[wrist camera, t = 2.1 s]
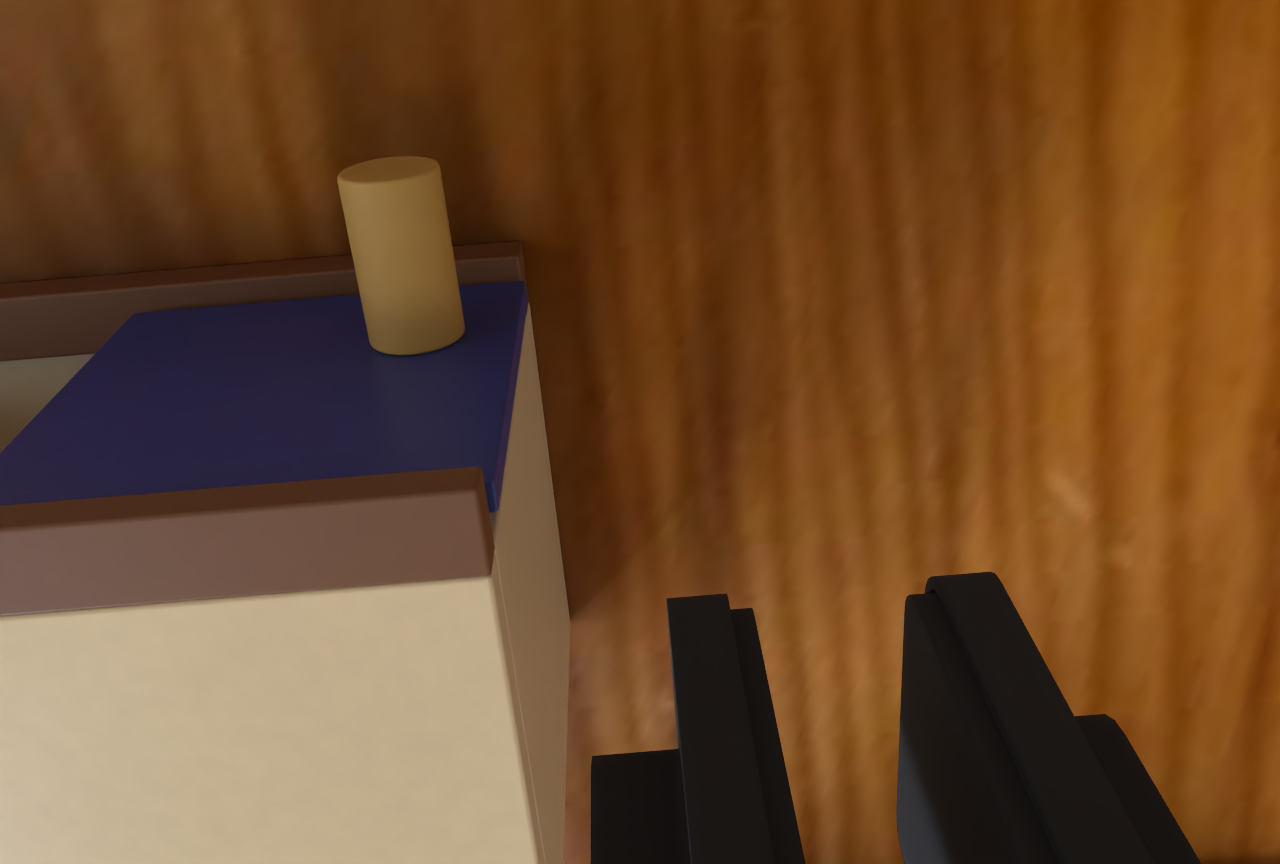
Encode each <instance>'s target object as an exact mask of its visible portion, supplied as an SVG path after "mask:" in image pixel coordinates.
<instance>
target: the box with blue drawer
mask: <svg viewBox="0 0 1280 864" xmlns="http://www.w3.org/2000/svg"><path fill="white" fill-rule="evenodd" d="M452 247H453V254H454V260H455V266H456V273H457V279H458V285H459V286H466V285H478V284H491V283H503V282H515V281H524V282H525V286H526V293H527V301H528V304H527V311H526V318H525V325H524V332H523V340H522V347H521V354H520V361H519V368H518V375H517V383H516V390H515V397H514V404H513V411H512V418H511V426H510V433H509V440H508V447H507V454H506V462H505V469H504V476H503V483H502V490H501V497H500V505H499V510H498V511H497V512H490V513H489V509H488V502H487V496H486V490H485V483H484V477H483V471H482V469H481V467H478V466H475V467H463V468H451V469H439V470H427V471H415V472H403V473H391V474H379V475H367V476H355V477H342V478H330V479H318V480H306V481H294V482H282V483H270V484H258V485H246V486H234V487H222V488H209V489H197V490H185V491H173V492H161V493H149V494H137V495H125V496H113V497H101V498H89V499H77V500H64V501H52V502H40V503H28V504H16V505H4V506H0V864H563V855H564V820H565V786H566V752H567V717H568V683H569V649H570V617H569V609H568V601H567V594H566V586H565V578H564V570H563V562H562V554H561V546H560V539H559V531H558V523H557V515H556V507H555V499H554V491H553V484H552V476H551V468H550V460H549V452H548V444H547V436H546V429H545V421H544V413H543V405H542V397H541V389H540V381H539V374H538V366H537V358H536V350H535V342H534V334H533V326H532V319H531V311H530V304H529V296H528V288H527V280H526V272H525V264H524V257H523V249H522V243H521V242H520V241H510V242H498V243H486V244H474V245H462V246H452ZM358 294H360V292H359V287H358V282H357V277H356V272H355V267H354V262H353V257H352V255H342V256H330V257H318V258H306V259H294V260H282V261H270V262H258V263H246V264H234V265H222V266H210V267H198V268H186V269H174V270H162V271H150V272H138V273H126V274H114V275H102V276H90V277H78V278H66V279H54V280H42V281H30V282H18V283H6V284H0V453H1V452H2V451H3V450H4V449H5V448H6V446H7V445H8V444H9V443H10V442H11V441H12V440H13V439H14V438H15V437H16V436H17V435H18V434H19V433H20V432H21V431H22V430H23V429H24V428H25V427H26V426H27V424H28V423H29V422H30V421H31V420H32V419H33V418H34V417H35V416H36V415H37V414H38V413H39V412H40V411H41V410H42V409H43V408H44V407H45V406H46V405H47V404H48V402H49V401H50V400H51V399H52V398H53V397H54V396H55V395H56V394H57V393H58V392H59V391H60V390H61V389H62V388H63V387H64V386H65V385H66V384H67V383H68V382H69V380H70V379H71V378H72V377H73V376H74V375H75V374H76V373H77V372H78V371H79V370H80V369H81V368H82V367H83V366H84V365H85V364H86V363H87V362H88V361H89V360H90V358H91V357H92V356H93V355H94V354H95V353H96V352H97V351H98V350H99V349H100V348H101V347H102V346H103V345H104V344H105V343H106V342H107V341H108V340H109V339H110V338H111V337H112V335H113V334H114V333H115V332H116V331H117V330H118V329H119V328H120V327H121V326H122V325H123V324H124V323H125V322H126V321H127V320H128V319H129V318H130V317H131V316H132V315H133V314H134V313H142V312H154V311H166V310H178V309H190V308H202V307H214V306H226V305H238V304H250V303H262V302H274V301H286V300H298V299H310V298H322V297H334V296H346V295H358Z"/></svg>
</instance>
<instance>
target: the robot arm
mask: <svg viewBox="0 0 1280 864" xmlns="http://www.w3.org/2000/svg"><path fill="white" fill-rule="evenodd" d="M667 611H668V624H669V637H670V650H671V663H672V676H673V688H674V701H675V714H676V727H677V740H678V749H673V750H661V751H649V752H636V753H624V754H612V755H600V756H592V763H591V864H805V860H804V855H803V850H802V845H801V840H800V835H799V830H798V825H797V821H796V816H795V811H794V806H793V801H792V796H791V791H790V787H789V782H788V777H787V772H786V767H785V762H784V757H783V752H782V748H781V743H780V738H779V733H778V728H777V723H776V718H775V714H774V709H773V704H772V699H771V694H770V689H769V684H768V680H767V675H766V670H765V665H764V660H763V655H762V650H761V645H760V641H759V636H758V631H757V626H756V621H755V616H754V612H753V609H752V608H745V609H733V610H730V606H729V601H728V596H727V594H715V595H703V596H691V597H679V598H667ZM897 830H898V837H899V843H900V848H901V852H902V856H903V860H904V863H905V864H1201V863H1200V861H1199V859H1198V858H1197V856H1196V854H1195V852H1194V851H1193V849H1192V847H1191V846H1190V844H1189V842H1188V841H1187V839H1186V837H1185V835H1184V834H1183V832H1182V830H1181V829H1180V827H1179V825H1178V824H1177V822H1176V820H1175V818H1174V817H1173V815H1172V813H1171V812H1170V810H1169V808H1168V807H1167V805H1166V803H1165V802H1164V800H1163V798H1162V796H1161V795H1160V793H1159V791H1158V790H1157V788H1156V786H1155V785H1154V783H1153V781H1152V779H1151V778H1150V776H1149V774H1148V773H1147V771H1146V769H1145V768H1144V766H1143V764H1142V762H1141V761H1140V759H1139V757H1138V756H1137V754H1136V752H1135V751H1134V749H1133V747H1132V745H1131V744H1130V742H1129V740H1128V739H1127V737H1126V735H1125V734H1124V732H1123V731H1122V730H1121V728H1120V727H1119V726H1118V724H1117V723H1116V722H1115V720H1113V719H1112V718H1110V717H1109V716H1107V715H1106V714H1099V715H1087V716H1075V717H1074V715H1073V713H1072V711H1071V710H1070V708H1069V706H1068V704H1067V702H1066V700H1065V699H1064V697H1063V695H1062V693H1061V691H1060V689H1059V687H1058V686H1057V684H1056V682H1055V680H1054V678H1053V676H1052V675H1051V673H1050V671H1049V669H1048V667H1047V665H1046V664H1045V662H1044V660H1043V658H1042V656H1041V654H1040V653H1039V651H1038V649H1037V647H1036V645H1035V643H1034V642H1033V640H1032V638H1031V636H1030V634H1029V632H1028V630H1027V629H1026V627H1025V625H1024V623H1023V621H1022V619H1021V618H1020V616H1019V614H1018V612H1017V610H1016V608H1015V607H1014V605H1013V603H1012V601H1011V599H1010V597H1009V596H1008V594H1007V592H1006V590H1005V588H1004V586H1003V584H1002V583H1001V581H1000V579H999V578H998V577H997V575H996V574H995V573H992V572H982V573H970V574H958V575H946V576H934V577H930V578H929V579H928V581H927V584H926V588H925V594H915V595H909V596H907V598H906V602H905V614H904V639H903V664H902V689H901V713H900V738H899V763H898V787H897Z"/></svg>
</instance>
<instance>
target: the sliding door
mask: <svg viewBox="0 0 1280 864" xmlns="http://www.w3.org/2000/svg"><path fill="white" fill-rule="evenodd" d="M337 182H338V187H339V192H340V197H341V202H342V207H343V212H344V217H345V222H346V227H347V232H348V237H349V242H350V247H351V252H352V257H353V262H354V267H355V272H356V277H357V282H358V287H359V292H360V294H358V295H346V296H334V297H322V298H310V299H298V300H286V301H274V302H262V303H250V304H238V305H226V306H214V307H202V308H190V309H178V310H166V311H154V312H142V313H134V314H133V315H132V316H131V317H130V318H129V319H128V320H127V321H126V322H125V323H124V324H123V325H122V326H121V327H120V328H119V329H118V330H117V331H116V332H115V333H114V334H113V335H112V337H111V338H110V339H109V340H108V341H107V342H106V343H105V344H104V345H103V346H102V347H101V348H100V349H99V350H98V351H97V352H96V353H95V354H94V355H93V356H92V357H91V358H90V360H89V361H88V362H87V363H86V364H85V365H84V366H83V367H82V368H81V369H80V370H79V371H78V372H77V373H76V374H75V375H74V376H73V377H72V378H71V379H70V380H69V382H68V383H67V384H66V385H65V386H64V387H63V388H62V389H61V390H60V391H59V392H58V393H57V394H56V395H55V396H54V397H53V398H52V399H51V400H50V401H49V402H48V404H47V405H46V406H45V407H44V408H43V409H42V410H41V411H40V412H39V413H38V414H37V415H36V416H35V417H34V418H33V419H32V420H31V421H30V422H29V423H28V424H27V426H26V427H25V428H24V429H23V430H22V431H21V432H20V433H19V434H18V435H17V436H16V437H15V438H14V439H13V440H12V441H11V442H10V443H9V444H8V445H7V446H6V448H5V449H4V450H3V451H2V452H1V453H0V506H4V505H16V504H28V503H40V502H52V501H64V500H77V499H89V498H101V497H113V496H125V495H137V494H149V493H161V492H173V491H185V490H197V489H209V488H222V487H234V486H246V485H258V484H270V483H282V482H294V481H306V480H318V479H330V478H342V477H355V476H367V475H379V474H391V473H403V472H415V471H427V470H439V469H451V468H463V467H475V466H478V467H481V469H482V471H483V477H484V483H485V490H486V496H487V502H488V509H489V513H490V512H497V511H498V510H499V505H500V497H501V490H502V483H503V476H504V469H505V462H506V454H507V447H508V440H509V433H510V426H511V418H512V411H513V404H514V397H515V390H516V383H517V375H518V368H519V361H520V354H521V347H522V340H523V332H524V325H525V318H526V311H527V304H528V301H527V293H526V286H525V282H524V281H515V282H503V283H491V284H478V285H466V286H459V285H458V279H457V273H456V266H455V260H454V254H453V247H452V241H451V234H450V228H449V222H448V215H447V209H446V203H445V196H444V190H443V183H442V177H441V171H440V166H439V164H438V162H437V161H436V160H434V159H431V158H427V157H420V156H396V157H386V158H379V159H374V160H369V161H365V162H361V163H358V164H355V165H352V166H350V167H348V168H346V169H344V170H342V171H341V172H340V173H339V174H338V177H337Z"/></svg>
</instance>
